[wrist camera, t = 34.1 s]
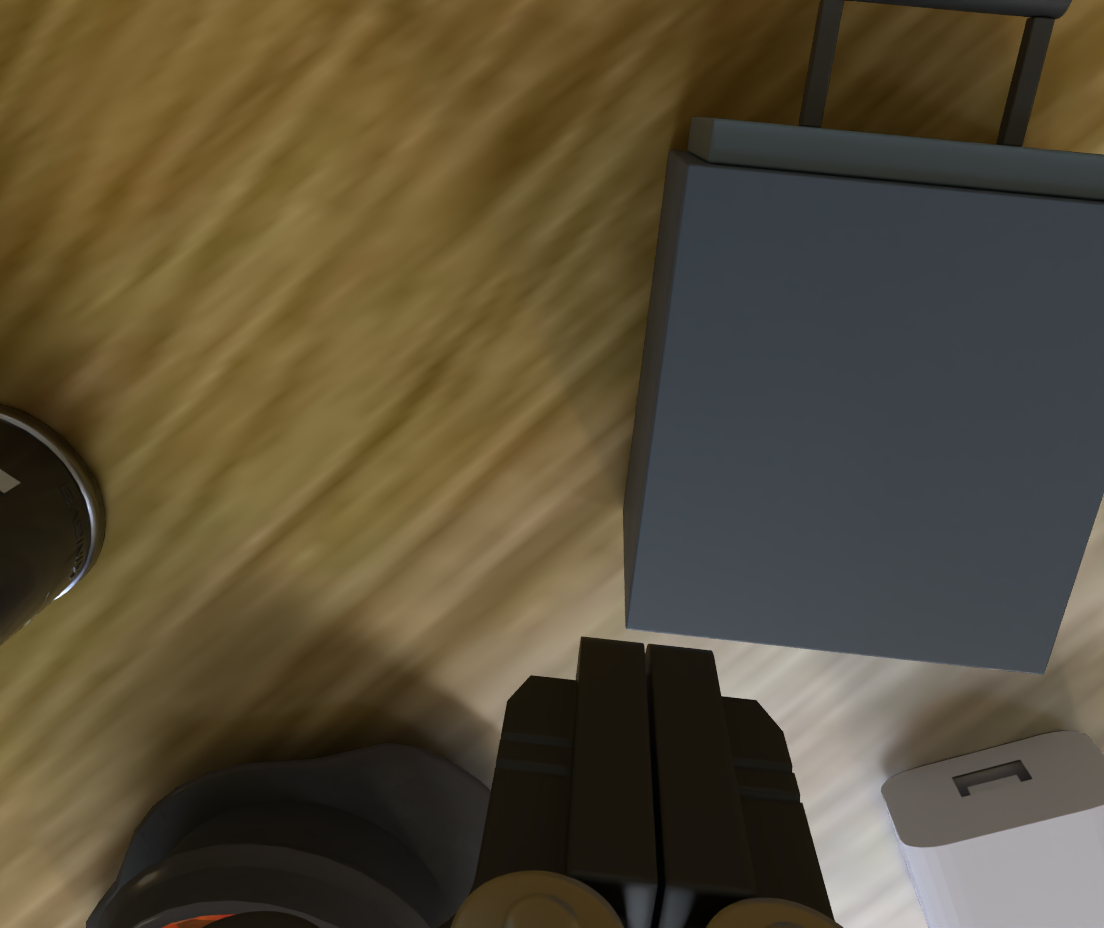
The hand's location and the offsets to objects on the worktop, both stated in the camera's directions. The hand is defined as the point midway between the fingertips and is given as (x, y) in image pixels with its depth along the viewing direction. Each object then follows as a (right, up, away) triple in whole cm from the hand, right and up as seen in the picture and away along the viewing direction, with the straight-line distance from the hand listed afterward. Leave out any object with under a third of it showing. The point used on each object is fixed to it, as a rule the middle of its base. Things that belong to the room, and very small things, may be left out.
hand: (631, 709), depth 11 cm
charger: (+21, -17, +34) cm, 44 cm away
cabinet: (+10, +7, +26) cm, 28 cm away
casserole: (-13, -19, +37) cm, 44 cm away
